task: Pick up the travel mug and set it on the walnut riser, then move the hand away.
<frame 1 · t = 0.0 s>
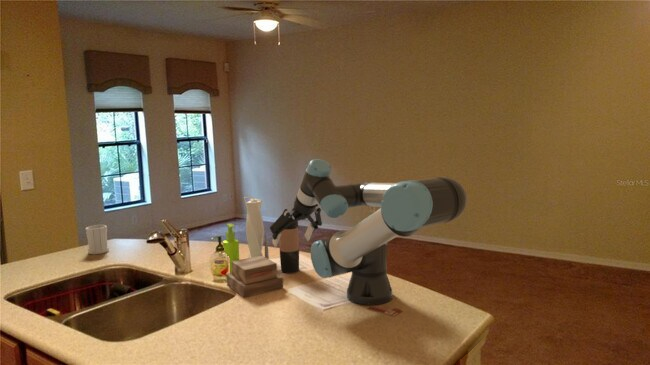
hand: (290, 240, 171), 15 cm above the worktop, tool tilted 35°, fingers open, 13 cm apart
white twisted vase: (256, 261, 199), on the worktop
walnut riser: (254, 286, 168), on the worktop
soap dispenser: (232, 274, 182), on the worktop
travel mug: (290, 270, 185), on the worktop
cup: (97, 252, 218), on the worktop
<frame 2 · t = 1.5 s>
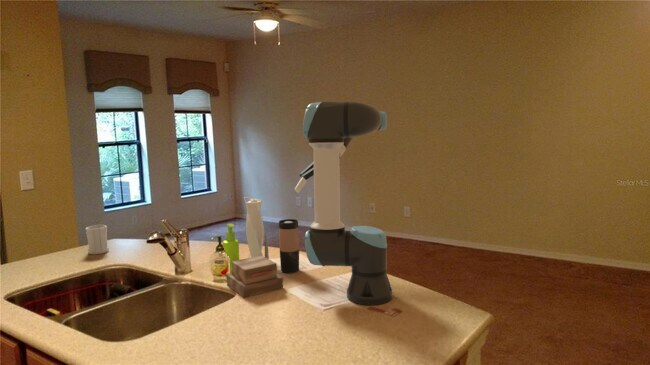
hand: (307, 193, 188), 30 cm above the worktop, tool tilted 45°, fingers open, 13 cm apart
nothing on the worktop moved.
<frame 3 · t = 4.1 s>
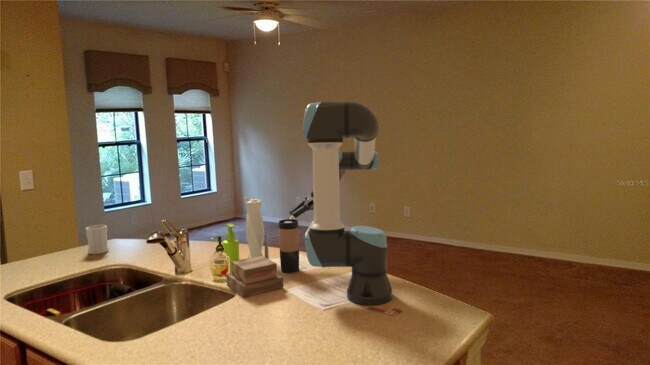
hand: (296, 232, 187), 14 cm above the worktop, tool tilted 45°, fingers open, 13 cm apart
nothing on the worktop moved.
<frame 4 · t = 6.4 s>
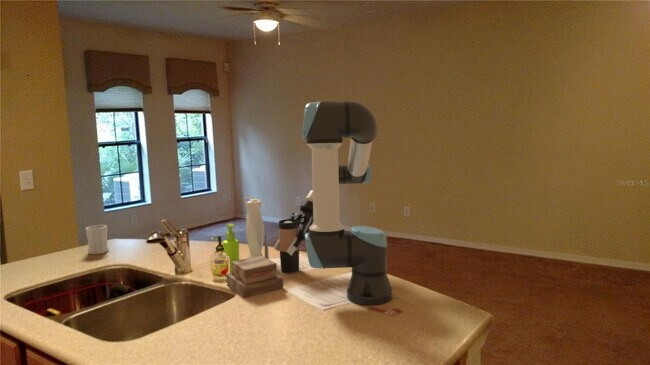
hand: (282, 251, 181), 9 cm above the worktop, tool tilted 45°, fingers closed on travel mug, 7 cm apart
travel mug: (290, 270, 185), on the worktop, touching gripper
everything else where it was.
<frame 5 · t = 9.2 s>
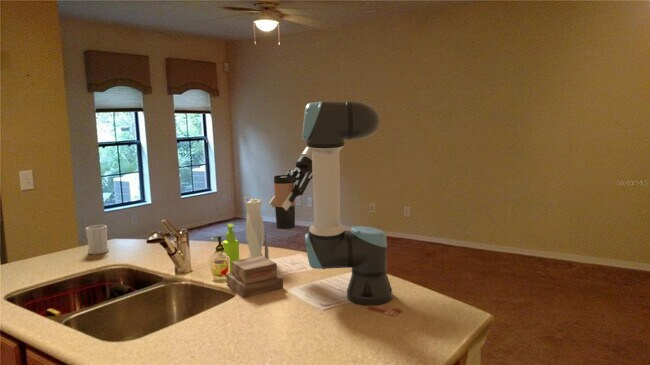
hand: (277, 206, 178), 26 cm above the worktop, tool tilted 45°, fingers closed on travel mug, 7 cm apart
travel mug: (285, 227, 182), point 18 cm above the worktop, touching gripper
everything else where it was.
when the fingers open (19 cm above the worktop, at t = 12.0 s): travel mug drops 2 cm, resting on walnut riser.
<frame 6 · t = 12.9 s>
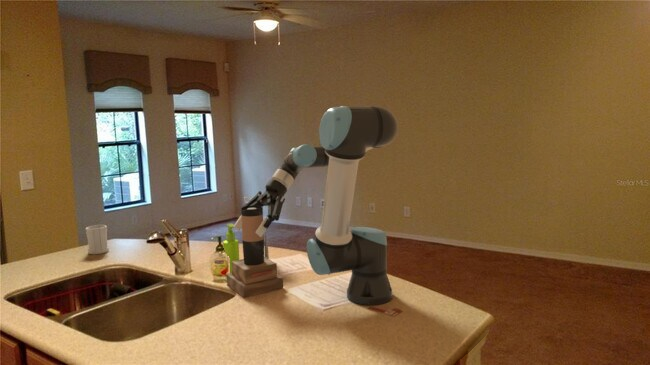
hand: (246, 231, 164), 21 cm above the worktop, tool tilted 45°, fingers open, 13 cm apart
travel mug: (254, 262, 167), point 9 cm above the worktop, touching walnut riser
everything else where it was.
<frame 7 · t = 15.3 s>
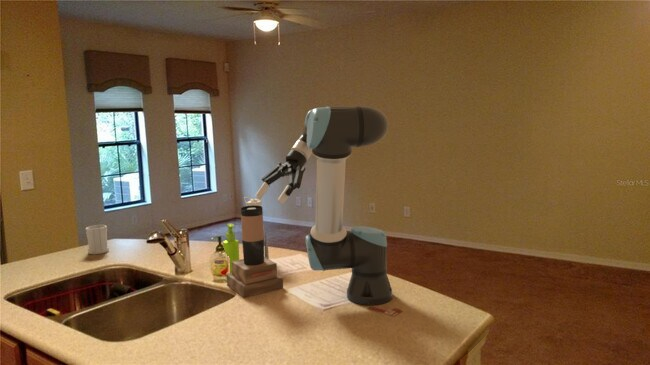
hand: (268, 199, 169), 31 cm above the worktop, tool tilted 45°, fingers open, 13 cm apart
nothing on the worktop moved.
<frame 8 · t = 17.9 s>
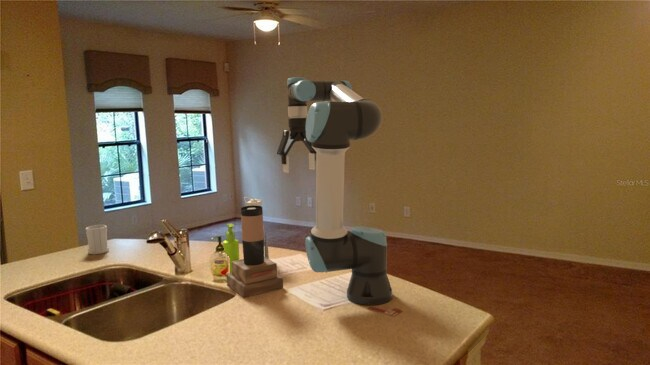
hand: (299, 171, 187), 39 cm above the worktop, tool pointing down, fingers open, 13 cm apart
nothing on the worktop moved.
at the end: travel mug inside the target area on the walnut riser (0.2 cm from its centre), point 8.8 cm above the walnut riser's base; travel mug tilted 0°; the gripper is holding nothing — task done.
